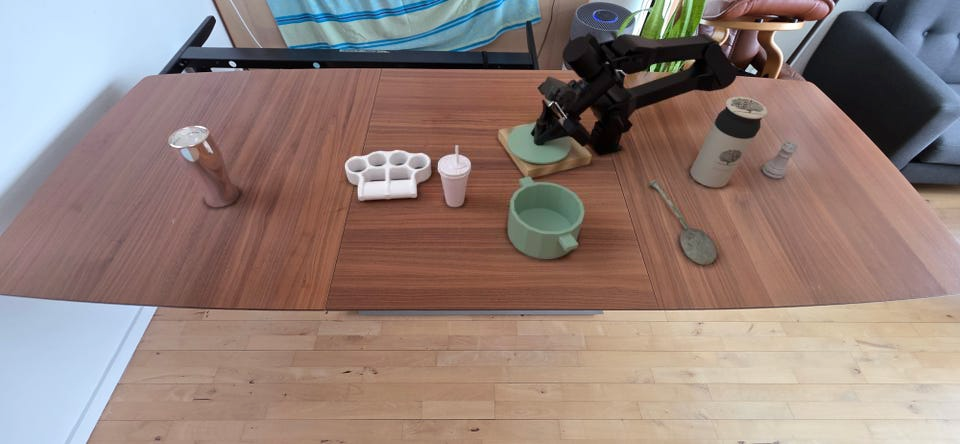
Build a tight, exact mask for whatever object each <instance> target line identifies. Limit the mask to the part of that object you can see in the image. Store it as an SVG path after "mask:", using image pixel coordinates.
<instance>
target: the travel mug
mask: <svg viewBox="0 0 960 444" xmlns="http://www.w3.org/2000/svg"><path fill="white" fill-rule="evenodd" d="M767 115H768V109H767V107H766V106H765V105H764V104H763V103H762V102H760V101H758V100H756V99H753V98H751V97H747V96H731V97H729V98H727V100H726V101H725V108H724V109H722V110H721V111H720V112H719V113H718V114H717V116H716V118H715V120H714V122H713V124H712V126H711V128H710V129H709V132H708V134H707V136H706V137H705V140H704V142H703V144H702V146H701V148H700V150H699V152H698V153H697V155H696V157H695V160H694V161H693V163H692V165H691V168H690V171H689V173H690V175H691V177H692V178H693V180H695V181H696V182H697V183H699V184H701V185H703V186H706V187H709V188H722V187H724V186H727V184H728V182H729V181H730V179H731V177H732V176H733V174H734V173H735V171H736V169H737V167H738V165H739V164H740V163H741V160H742V159H743V158H744V156H745V154H746V153H747V151H748V150H749V147H750V146H751V144H752V143H753V141H754V139H755V138H756V136H757V134H758V132H759V131H760V129H761V127H762V126H761V125H762V123H761V120H762V119H763V118H765V117H766V116H767Z"/></svg>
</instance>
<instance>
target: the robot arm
mask: <svg viewBox="0 0 960 444" xmlns="http://www.w3.org/2000/svg"><path fill="white" fill-rule="evenodd" d="M721 46H722V45H721V44H720V42H719V41H718V40H716V39H715V38H713V37H712V36H711V35H709V34H707V33H698V34H697V35H687V36H678V37H677V36H675V37H666V38H665V37H664V38H654V39H653V38H649V37H645V36H641V35H637V34H630V33H629V34H628V33H623V34H620V35H618V36H616V38H613V39H610V40H605V41H601V42H599V41H598V39H597V38H596V36H595V35H594V34H593V33H592V32H590V31H589V32H588V33H587V34H585V35H584V36H583V35H582V36H581V35H580V36H578V37H576V38H574V39H571V40H570V41H568V42H567V44H566V45H565V47H564V49H563V51H562V56H561V57H562V59H563V61H564V62H565V63H566V64H567V66H569V67H570V69H571V70H572V71H573V72H574V73H575V74H576V75H577V77H579V78H580V79H578V80H576V79H571V80H570V81H568V82H564V81H563V80H560V79H557V78H555V77H553V76H548V75H547V77H546V79H545V80H544V81H543V82H542V83H541V84H540V85H538V86H537V90H538V91H539V93H540V95H542V96H544V98H545V99H546V100H544V99H542V100H541V103H542V112H541V114H540V116H539V118H544V119H546V120H548V127H547V129H546V130H545V131H544V132H543V133H542V134H541V135H540V136H539V137H538V138H537V139H536V140H535V143H537V144H541V143H544V142H548V141H551V140H554V139H558V138H563V137H568V136H570V137H571V138H573V139H574V140H575V141H576V142H577V143H579V144H580V145H581V146H582V147H585V146H586V145H587V144H588V145H589V146H590V147H591V148H592V149H593V150H594V151H595V152H596V153H597V154H598V155H599V156H603V155H608V154H610V153H616V152H619V151H622V150H623V146H622V145H621V144H620V142H621V138H622V135H623V134H626V133H628V132H630V130H631V128H632V126H633V124H634V123H632V122H631V121H630V117H631V116H632V115H633V114H634V113H635V111H637V110H639V109H643V108H646V107H648V106H651V105H654V104H657V103H661V102H664V101H666V100H669V99H672V98H675V97H679V96H681V95H684V94H688V93H690V92H693V91H700V92H715V91H720V90H725V89H727V88H728V87H730V86H731V85H732V84H734V82H735V80H736V79H737V75H738V70H739V69H738V66H736V65H735V64H734V63H732V61H730V59H729V57H728V56H727V55H726V54H725V52H724V51H723V48H722V47H721ZM685 61H686V62H687V61H693V62H692V64H691V65H690V66H689V67H688V68H686V69H683V70H681V71H677V72H675V73H671V74H668V75H664V76H663V77H659V78H656V79H653V80H651V81H648V82H647V81H646V82H644V83H642V84H639V85H636V86H635V85H634V86H633V87H629V88H628V87H625V86H624V85H625V78H626V75H634V74H637V73H640V72H645V71H647V70H648V69H650V68H651V66H654V65H657V64H666V63H677V62H685ZM588 109H590V111H591V112H592V115H593V116H594V117H595V118H596V119H597V121H594V125H593V127H592V128H591V132H590V133H589V131H588V130H587V128H586V127H585V125H584V124H583V123H581V122H580V121H581V120H582V117H581V115H582V114H584V112H585V111H587V110H588ZM535 126H536V125H535ZM535 126H534V128H533V130H532V132H531V135H532V136H533V137H534V134H535Z"/></svg>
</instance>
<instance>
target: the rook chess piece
mask: <svg viewBox="0 0 960 444" xmlns="http://www.w3.org/2000/svg"><path fill="white" fill-rule="evenodd" d="M798 147H799V145H798V144H796V142H793V143H792V141H791V140H788V141H785V142H784V143H782V144H780V149H779V150H778V153H777V154H776V155H775V157H774V158H773V159H771V160H769V161H767V162H766V163H765V164H764V166H762V172H763V174H764V175H765V176H767V177H768V178H771V179H775V180H776V179H777V180H778V179H781V178H784V175H785V174H786V172H787V164H788V162H789V160H790V158H793V154H795V153H797V152H798Z"/></svg>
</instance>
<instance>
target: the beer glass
mask: <svg viewBox="0 0 960 444" xmlns="http://www.w3.org/2000/svg"><path fill="white" fill-rule="evenodd" d="M167 143H168V144H169V146H170V148H171V150H172V152H173V154H174V156H175V158H176V160H177V162H178V163H179V165H180V166H181V168H182V169H183V171H184V172H185V173H186V174H187V175H188V176H189V177H190V178H191V179H192V181H193V182H195V183H196V185H197V186H198V187H199V189H200V190H201V192H202V194H203V197H204V200H205V203H206V204H207V205H208V206H209V207H212V208H223V207H227V206H229V205H231V204H233V203H234V202H235V201H237V199H238V198H239V195H240V192H239V189H238V188H237V187H236V186H235V185H234V183H233V182H232V180H231V179H230V176H229V173H228V170H227V167H226V162H225V158H224V157H223V153H222V151H221V149H220V146H218V143H217V142H216V141H215V139H214V137H213V136H212V133H210V130H209V129H208V128H207V127H205V126H203V125H190V126H184V127H182V128H179V129H177V130H175V131H174V132H172V133H171V134H170V135H169V137H168V139H167Z"/></svg>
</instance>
